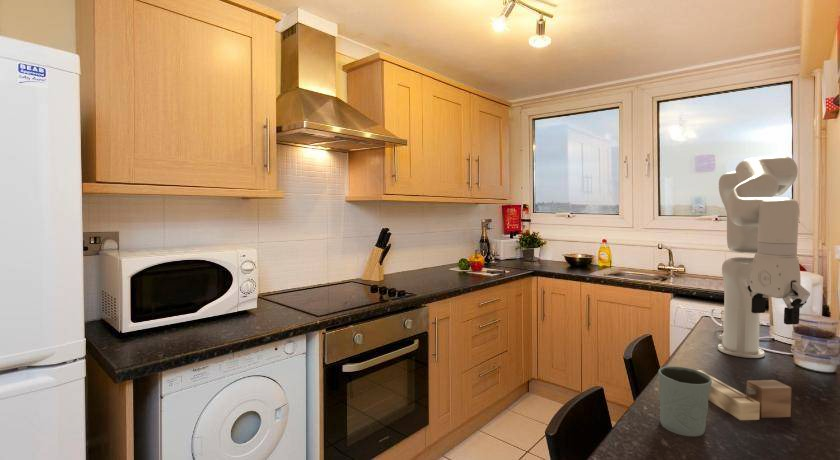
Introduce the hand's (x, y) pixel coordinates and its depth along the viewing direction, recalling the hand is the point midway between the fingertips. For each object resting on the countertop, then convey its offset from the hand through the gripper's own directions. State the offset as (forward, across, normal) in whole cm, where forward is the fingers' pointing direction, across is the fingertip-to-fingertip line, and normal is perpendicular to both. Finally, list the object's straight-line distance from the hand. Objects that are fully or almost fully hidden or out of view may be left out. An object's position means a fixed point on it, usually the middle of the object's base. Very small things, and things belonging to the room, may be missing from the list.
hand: (774, 318), depth 108 cm
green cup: (+20, +12, -30) cm, 38 cm away
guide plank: (+21, -1, -13) cm, 25 cm away
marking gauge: (+21, +6, -6) cm, 23 cm away
